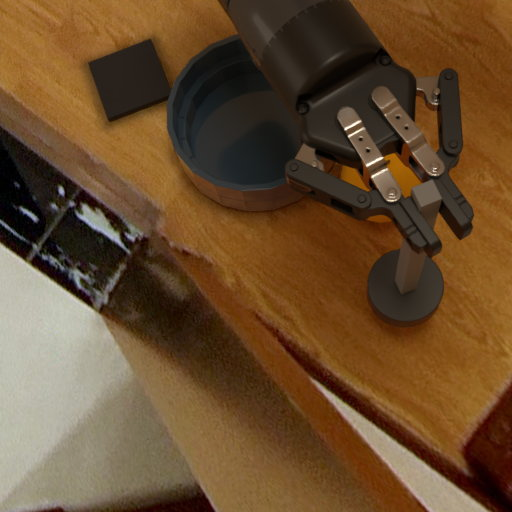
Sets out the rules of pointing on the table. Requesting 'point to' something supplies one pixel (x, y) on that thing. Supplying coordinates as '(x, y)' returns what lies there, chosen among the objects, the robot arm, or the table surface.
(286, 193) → the bowl
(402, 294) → the square post on disc
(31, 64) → the table surface
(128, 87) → the pad
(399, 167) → the orange
